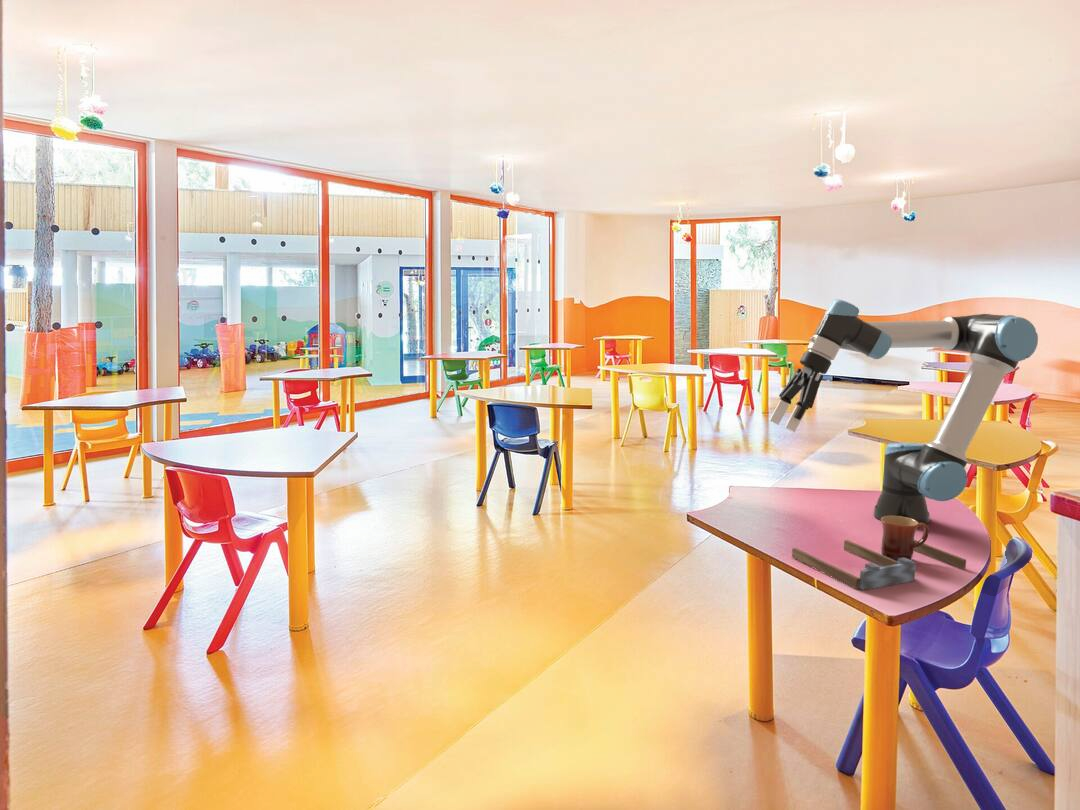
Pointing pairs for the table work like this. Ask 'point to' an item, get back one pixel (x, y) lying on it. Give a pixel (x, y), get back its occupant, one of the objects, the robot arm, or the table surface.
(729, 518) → the table surface
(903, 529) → the mug
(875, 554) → the bar
